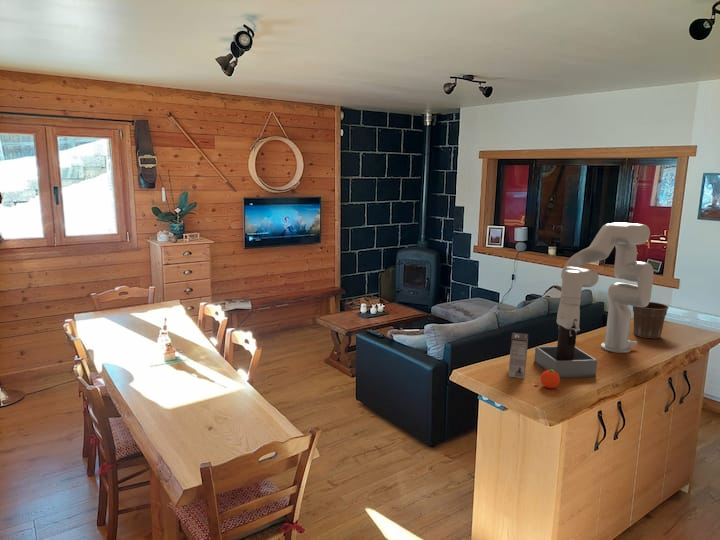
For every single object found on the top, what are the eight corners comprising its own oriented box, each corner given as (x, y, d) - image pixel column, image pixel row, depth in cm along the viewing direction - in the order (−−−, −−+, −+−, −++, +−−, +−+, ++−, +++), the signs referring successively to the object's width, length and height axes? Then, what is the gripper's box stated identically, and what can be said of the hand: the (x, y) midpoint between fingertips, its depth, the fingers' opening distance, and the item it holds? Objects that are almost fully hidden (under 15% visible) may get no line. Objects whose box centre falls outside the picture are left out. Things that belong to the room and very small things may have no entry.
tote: (572, 360, 224) (573, 345, 223) (595, 376, 207) (597, 360, 206) (534, 362, 222) (535, 346, 220) (554, 378, 205) (556, 361, 203)
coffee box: (509, 368, 214) (512, 331, 211) (525, 370, 212) (528, 333, 209) (508, 376, 205) (510, 338, 202) (524, 379, 203) (528, 340, 200)
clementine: (545, 381, 201) (546, 364, 200) (563, 386, 196) (564, 369, 195) (536, 387, 195) (538, 370, 194) (555, 393, 191) (556, 375, 189)
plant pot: (623, 334, 263) (626, 304, 260) (636, 328, 273) (639, 299, 270) (657, 342, 251) (661, 310, 248) (669, 336, 261) (673, 305, 258)
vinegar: (560, 357, 218) (564, 312, 215) (576, 362, 213) (580, 315, 210) (552, 361, 214) (556, 315, 210) (568, 365, 209) (572, 318, 205)
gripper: (551, 295, 217) (547, 335, 220) (573, 305, 200) (569, 349, 203) (567, 295, 218) (564, 335, 221) (591, 305, 201) (586, 348, 204)
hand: (566, 341), depth 212 cm, fingers closed on vinegar, 6 cm apart
